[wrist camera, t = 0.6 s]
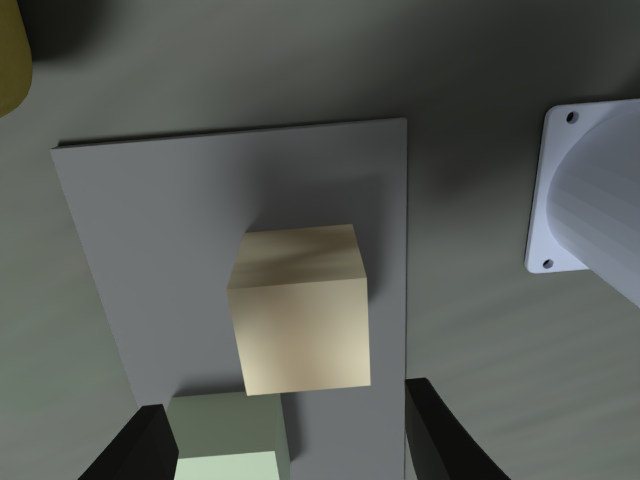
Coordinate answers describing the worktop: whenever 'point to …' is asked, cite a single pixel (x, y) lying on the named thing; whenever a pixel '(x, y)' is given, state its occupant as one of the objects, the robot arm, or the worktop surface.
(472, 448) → the robot arm
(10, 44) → the flower pot
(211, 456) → the sage brick
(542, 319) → the worktop surface
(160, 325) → the play mat
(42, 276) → the worktop surface
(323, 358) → the birch block
